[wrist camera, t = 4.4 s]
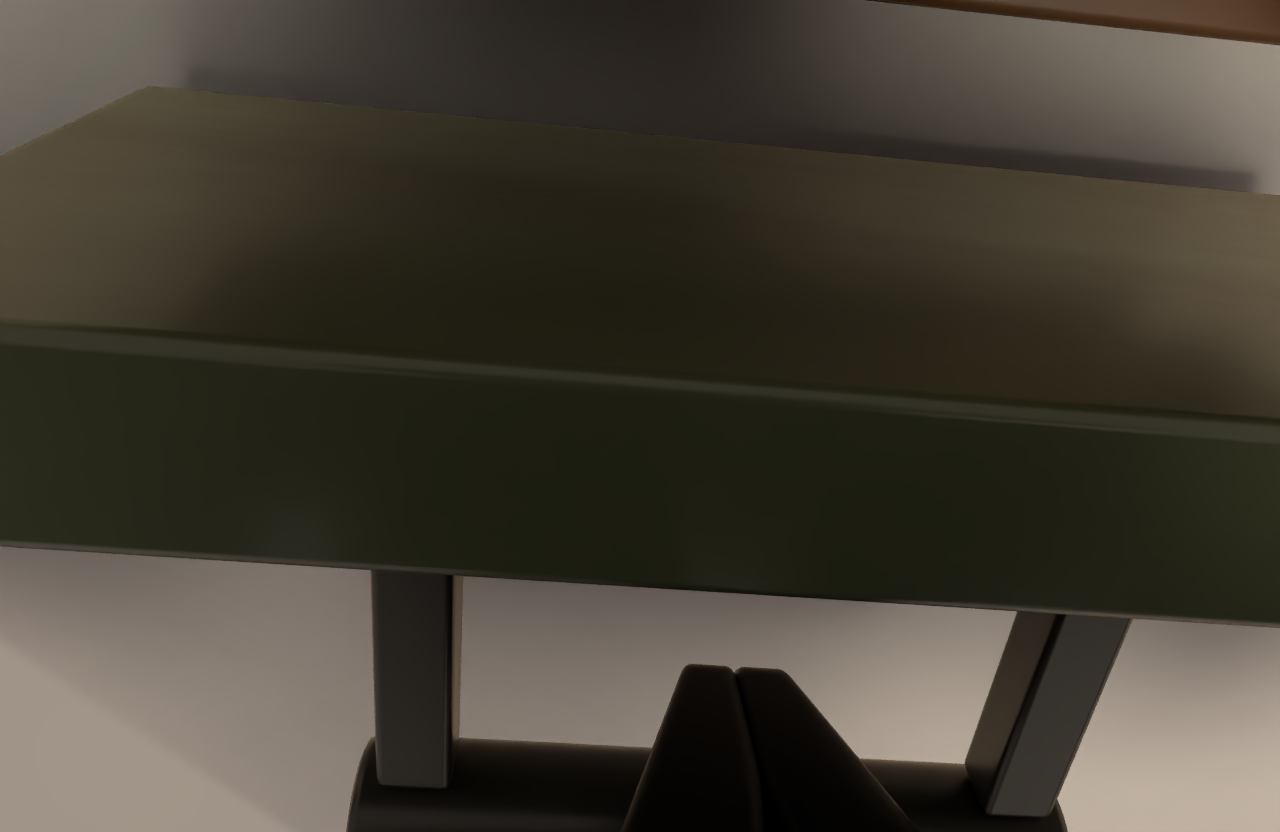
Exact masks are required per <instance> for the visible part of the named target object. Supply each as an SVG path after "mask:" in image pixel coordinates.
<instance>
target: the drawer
mask: <svg viewBox="0 0 1280 832" xmlns="http://www.w3.org/2000/svg"><path fill="white" fill-rule="evenodd" d="M867 1H876V2H885V3H894V4H904V5H913V6H922V7H931V8H941V9H950V10H959V11H968V12H977V13H987V14H996V15H1005V16H1014V17H1024V18H1033V19H1042V20H1051V21H1061V22H1070V23H1079V24H1088V25H1097V26H1107V27H1116V28H1125V29H1134V30H1144V31H1153V32H1162V33H1171V34H1180V35H1190V36H1199V37H1208V38H1217V39H1227V40H1236V41H1245V42H1254V43H1263V44H1273V45H1280V0H867ZM0 546H2V547H17V548H33V549H49V550H64V551H80V552H96V553H112V554H127V555H143V556H159V557H174V558H190V559H206V560H221V561H237V562H253V563H269V564H284V565H300V566H316V567H331V568H347V569H363V570H371V600H372V636H373V671H374V707H375V736H374V737H372V738H371V739H370V740H369V742H368V744H367V746H366V748H365V750H364V752H363V754H362V757H361V760H360V763H359V766H358V770H357V774H356V778H355V782H354V787H353V792H352V797H351V803H350V809H349V815H348V822H347V830H346V832H620V831H621V828H622V826H623V823H624V821H625V818H626V815H627V813H628V810H629V808H630V805H631V802H632V800H633V797H634V795H635V792H636V789H637V787H638V784H639V781H640V779H641V776H642V774H643V771H644V768H645V766H646V763H647V761H648V758H649V755H650V753H651V750H652V748H645V747H626V746H607V745H588V744H568V743H549V742H530V741H511V740H491V739H472V738H459V725H460V685H461V645H462V605H463V576H473V577H489V578H504V579H520V580H536V581H551V582H567V583H583V584H598V585H614V586H630V587H646V588H661V589H677V590H693V591H708V592H724V593H740V594H756V595H771V596H787V597H803V598H818V599H834V600H850V601H866V602H881V603H897V604H913V605H928V606H944V607H960V608H975V609H991V610H1007V611H1017V614H1016V617H1015V620H1014V623H1013V625H1012V628H1011V631H1010V634H1009V637H1008V640H1007V642H1006V645H1005V648H1004V651H1003V654H1002V657H1001V660H1000V662H999V665H998V668H997V671H996V674H995V677H994V679H993V682H992V685H991V688H990V691H989V694H988V697H987V699H986V702H985V705H984V708H983V711H982V714H981V717H980V719H979V722H978V725H977V728H976V731H975V734H974V736H973V739H972V742H971V745H970V748H969V751H968V754H967V756H966V759H965V764H953V763H934V762H915V761H896V760H876V759H860V760H861V762H862V763H863V764H864V765H865V766H866V768H867V769H868V770H869V771H870V772H871V774H872V775H873V776H874V777H875V778H876V779H877V781H878V782H879V783H880V784H881V785H882V787H883V788H884V789H885V790H886V791H887V793H888V794H889V795H890V796H891V797H892V799H893V800H894V801H895V802H896V803H897V805H898V806H899V807H900V808H901V809H902V810H903V812H904V813H905V814H906V815H907V816H908V818H909V819H910V820H911V821H912V822H913V824H914V825H915V826H916V827H917V828H918V830H919V831H920V832H1067V827H1066V823H1065V820H1064V816H1063V813H1062V810H1061V807H1060V805H1059V803H1058V800H1057V798H1058V795H1059V793H1060V790H1061V788H1062V786H1063V783H1064V781H1065V779H1066V776H1067V774H1068V771H1069V769H1070V767H1071V764H1072V762H1073V760H1074V757H1075V755H1076V752H1077V750H1078V748H1079V745H1080V743H1081V740H1082V738H1083V736H1084V733H1085V731H1086V729H1087V726H1088V724H1089V721H1090V719H1091V717H1092V714H1093V712H1094V710H1095V707H1096V705H1097V702H1098V700H1099V698H1100V695H1101V693H1102V691H1103V688H1104V686H1105V683H1106V681H1107V679H1108V676H1109V674H1110V671H1111V669H1112V667H1113V664H1114V662H1115V660H1116V657H1117V655H1118V652H1119V650H1120V648H1121V645H1122V643H1123V641H1124V638H1125V636H1126V633H1127V631H1128V629H1129V626H1130V624H1131V622H1132V619H1148V620H1164V621H1180V622H1195V623H1211V624H1227V625H1243V626H1258V627H1274V628H1280V196H1279V195H1269V194H1259V193H1248V192H1238V191H1228V190H1217V189H1207V188H1197V187H1186V186H1176V185H1166V184H1155V183H1145V182H1135V181H1124V180H1114V179H1104V178H1093V177H1083V176H1073V175H1062V174H1052V173H1042V172H1031V171H1021V170H1011V169H1000V168H990V167H980V166H969V165H959V164H949V163H939V162H928V161H918V160H908V159H897V158H887V157H877V156H866V155H856V154H846V153H835V152H825V151H815V150H804V149H794V148H784V147H773V146H763V145H753V144H742V143H732V142H722V141H711V140H701V139H691V138H680V137H670V136H660V135H649V134H639V133H629V132H618V131H608V130H598V129H587V128H577V127H567V126H557V125H546V124H536V123H526V122H515V121H505V120H495V119H484V118H474V117H464V116H453V115H443V114H433V113H422V112H412V111H402V110H391V109H381V108H371V107H360V106H350V105H340V104H329V103H319V102H309V101H298V100H288V99H278V98H267V97H257V96H247V95H236V94H226V93H216V92H205V91H195V90H185V89H175V88H164V87H154V86H148V87H145V88H142V89H140V90H138V91H136V92H133V93H131V94H129V95H127V96H125V97H123V98H121V99H119V100H117V101H115V102H112V103H110V104H108V105H106V106H104V107H102V108H100V109H98V110H96V111H94V112H91V113H89V114H87V115H85V116H83V117H81V118H79V119H77V120H75V121H73V122H70V123H68V124H66V125H64V126H62V127H60V128H58V129H56V130H54V131H52V132H49V133H47V134H45V135H43V136H41V137H39V138H37V139H35V140H33V141H31V142H28V143H26V144H24V145H22V146H20V147H18V148H16V149H14V150H12V151H10V152H7V153H5V154H3V155H1V156H0Z"/></svg>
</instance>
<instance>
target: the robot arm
mask: <svg viewBox="0 0 1280 832" xmlns="http://www.w3.org/2000/svg"><path fill="white" fill-rule="evenodd" d="M620 832H920V831H919V830H918V828H917V827H916V826H915V825H914V824H913V822H912V821H911V820H910V819H909V818H908V816H907V815H906V814H905V813H904V812H903V810H902V809H901V808H900V807H899V806H898V805H897V803H896V802H895V801H894V800H893V799H892V797H891V796H890V795H889V794H888V793H887V791H886V790H885V789H884V788H883V787H882V785H881V784H880V783H879V782H878V781H877V779H876V778H875V777H874V776H873V775H872V774H871V772H870V771H869V770H868V769H867V768H866V766H865V765H864V764H863V763H862V762H861V760H860V759H859V758H858V757H857V756H856V754H855V753H854V752H853V751H852V750H851V748H850V747H849V746H848V745H847V744H846V742H845V741H844V740H843V739H842V738H841V737H840V735H839V734H838V733H837V732H836V731H835V729H834V728H833V727H832V726H831V725H830V723H829V722H828V721H827V720H826V719H825V717H824V716H823V715H822V714H821V713H820V711H819V710H818V709H817V708H816V707H815V706H814V704H813V703H812V702H811V701H810V700H809V698H808V697H807V696H806V695H805V694H804V692H803V691H802V690H801V689H800V688H799V686H798V685H797V684H796V683H795V682H794V680H793V679H792V678H791V677H790V676H789V675H788V674H787V673H786V672H784V671H783V670H779V669H769V668H752V667H741V668H739V669H737V670H736V671H735V672H733V670H732V669H731V668H729V667H727V666H718V665H701V664H689V665H687V666H685V667H684V668H683V670H682V672H681V675H680V677H679V680H678V682H677V685H676V688H675V690H674V693H673V695H672V698H671V701H670V703H669V706H668V708H667V711H666V714H665V716H664V719H663V721H662V724H661V727H660V729H659V732H658V735H657V737H656V740H655V742H654V745H653V748H652V750H651V753H650V755H649V758H648V761H647V763H646V766H645V768H644V771H643V774H642V776H641V779H640V781H639V784H638V787H637V789H636V792H635V795H634V797H633V800H632V802H631V805H630V808H629V810H628V813H627V815H626V818H625V821H624V823H623V826H622V828H621V831H620Z"/></svg>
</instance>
